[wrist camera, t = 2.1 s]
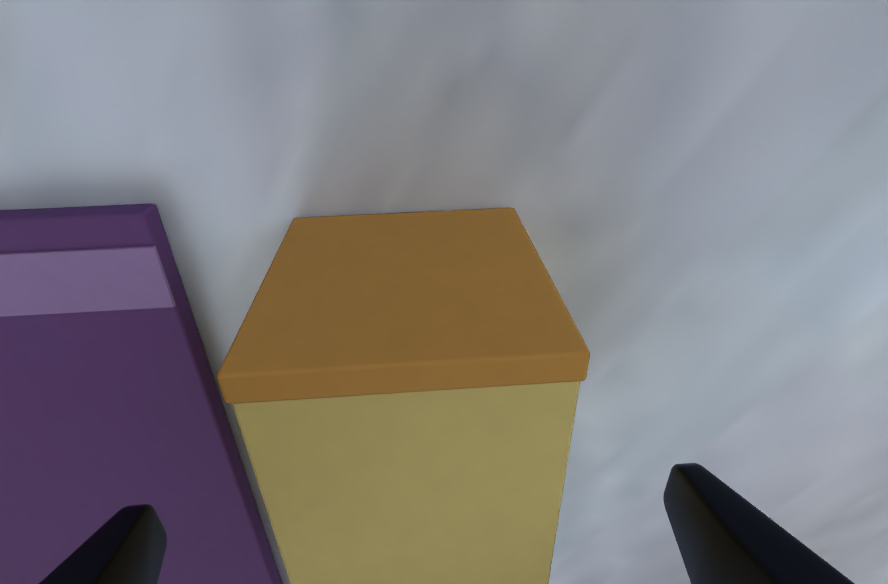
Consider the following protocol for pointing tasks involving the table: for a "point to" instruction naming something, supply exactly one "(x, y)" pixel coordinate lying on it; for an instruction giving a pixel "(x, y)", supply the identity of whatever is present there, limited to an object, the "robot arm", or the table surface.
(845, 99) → the table surface
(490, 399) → the cheese
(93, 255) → the towel
